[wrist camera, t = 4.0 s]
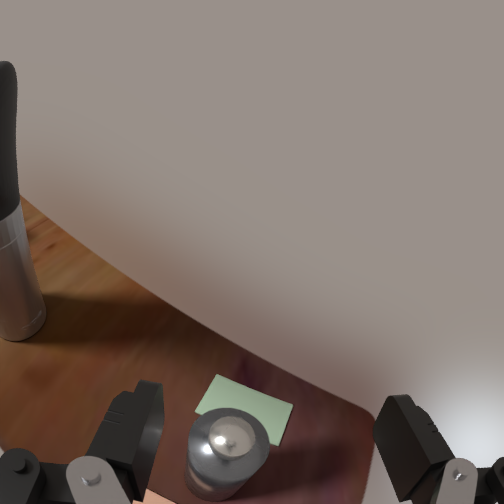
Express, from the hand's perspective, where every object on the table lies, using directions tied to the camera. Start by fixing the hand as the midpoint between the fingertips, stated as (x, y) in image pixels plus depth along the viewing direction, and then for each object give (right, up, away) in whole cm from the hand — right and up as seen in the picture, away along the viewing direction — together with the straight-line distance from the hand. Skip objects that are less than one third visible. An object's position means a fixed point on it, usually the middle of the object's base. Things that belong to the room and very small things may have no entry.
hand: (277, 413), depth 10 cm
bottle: (-5, -17, +15) cm, 23 cm away
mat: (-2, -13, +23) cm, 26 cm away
